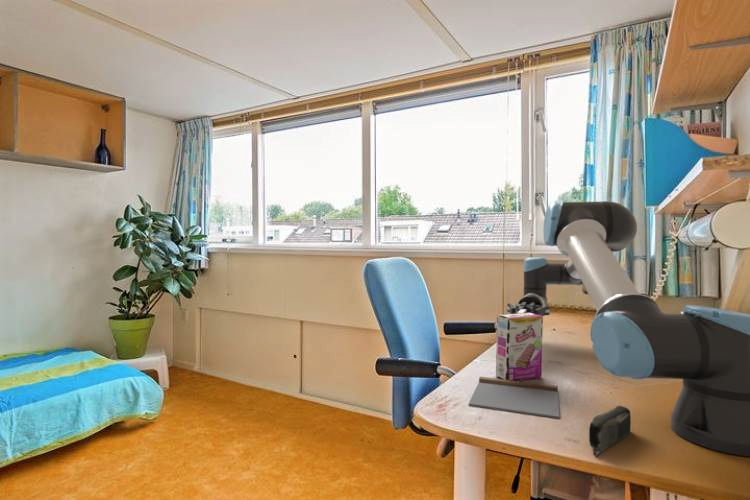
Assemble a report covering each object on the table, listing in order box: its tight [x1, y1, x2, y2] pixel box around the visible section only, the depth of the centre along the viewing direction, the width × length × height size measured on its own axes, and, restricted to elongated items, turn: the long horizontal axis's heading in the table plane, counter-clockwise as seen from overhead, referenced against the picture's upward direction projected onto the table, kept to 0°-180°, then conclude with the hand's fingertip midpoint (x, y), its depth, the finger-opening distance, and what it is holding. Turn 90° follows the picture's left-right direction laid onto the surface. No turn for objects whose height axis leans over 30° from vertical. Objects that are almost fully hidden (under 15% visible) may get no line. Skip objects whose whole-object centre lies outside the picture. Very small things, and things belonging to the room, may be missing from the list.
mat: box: [468, 381, 560, 420], centre depth 95 cm, size 15×18×1 cm
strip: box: [478, 376, 559, 393], centre depth 103 cm, size 2×18×1 cm, turn 68°
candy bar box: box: [495, 313, 544, 381], centre depth 109 cm, size 11×5×16 cm, turn 111°
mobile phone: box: [588, 405, 632, 457], centre depth 75 cm, size 5×3×15 cm
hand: (520, 317), depth 119 cm, fingers closed
